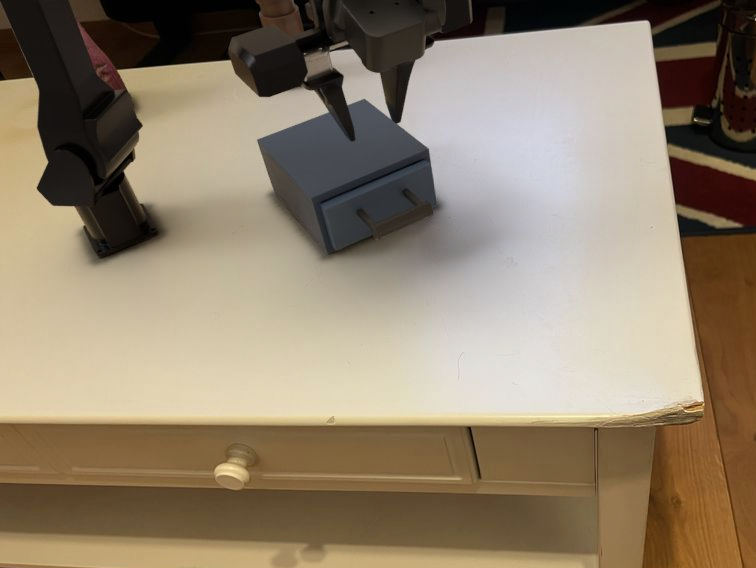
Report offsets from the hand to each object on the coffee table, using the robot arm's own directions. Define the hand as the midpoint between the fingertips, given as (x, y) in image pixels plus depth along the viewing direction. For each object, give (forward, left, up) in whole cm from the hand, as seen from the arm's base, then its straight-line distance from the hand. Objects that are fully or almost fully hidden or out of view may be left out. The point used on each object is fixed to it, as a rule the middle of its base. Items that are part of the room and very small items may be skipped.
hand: (373, 130), depth 63 cm
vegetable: (+50, +18, -12) cm, 55 cm away
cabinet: (+9, 0, -12) cm, 15 cm away
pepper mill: (+40, -7, -12) cm, 43 cm away
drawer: (+5, 0, -11) cm, 12 cm away
